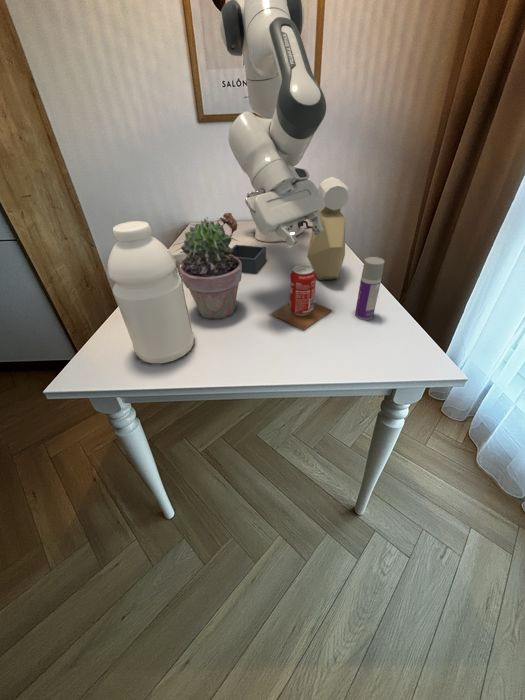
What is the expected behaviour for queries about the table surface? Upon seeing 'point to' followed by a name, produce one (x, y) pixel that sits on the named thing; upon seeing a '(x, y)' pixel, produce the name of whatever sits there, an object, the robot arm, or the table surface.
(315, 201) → the robot arm
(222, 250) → the potted plant
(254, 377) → the table surface
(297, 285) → the beverage can
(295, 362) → the table surface
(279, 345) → the table surface
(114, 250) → the bottle
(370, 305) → the container
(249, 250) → the bin
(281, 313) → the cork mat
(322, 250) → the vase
